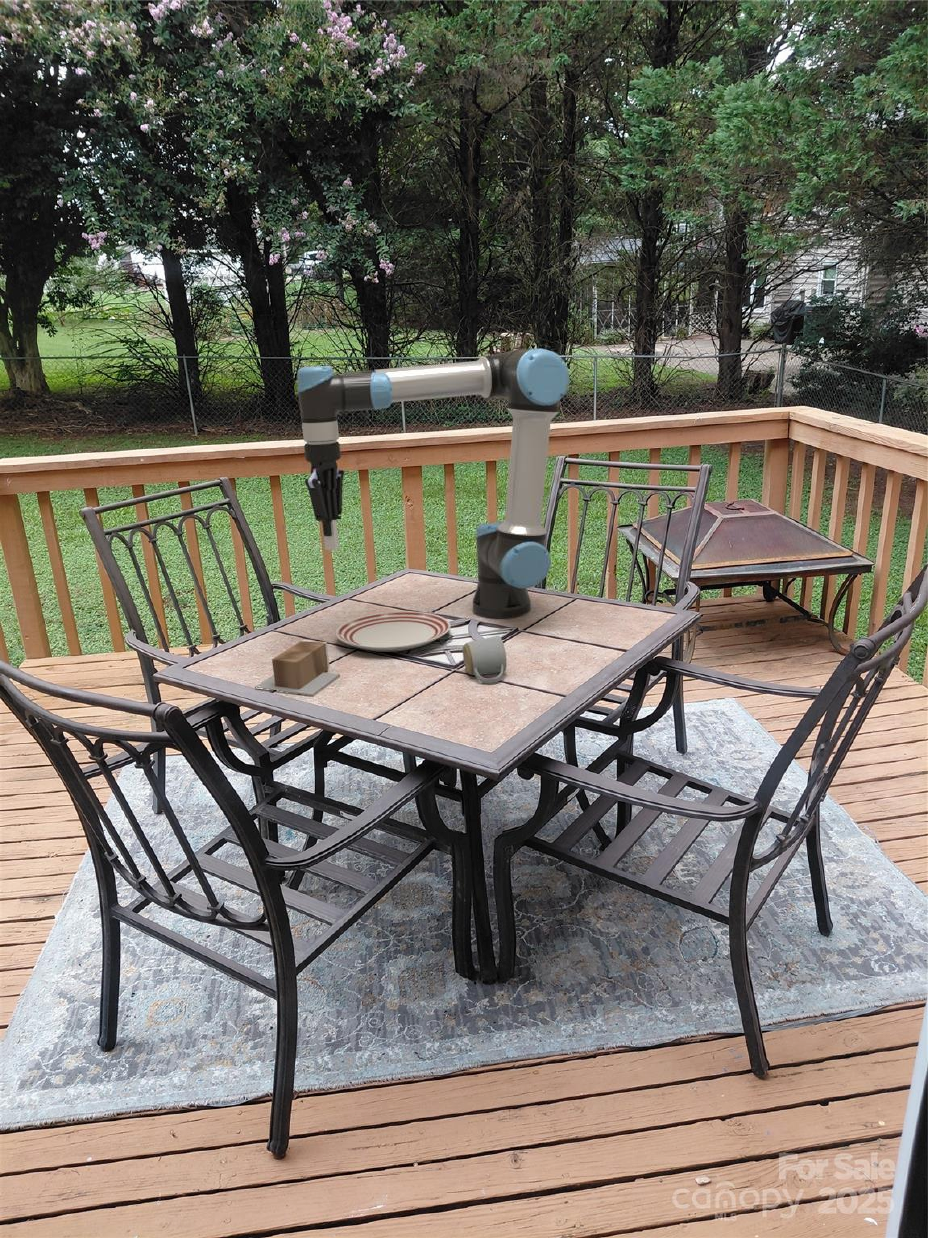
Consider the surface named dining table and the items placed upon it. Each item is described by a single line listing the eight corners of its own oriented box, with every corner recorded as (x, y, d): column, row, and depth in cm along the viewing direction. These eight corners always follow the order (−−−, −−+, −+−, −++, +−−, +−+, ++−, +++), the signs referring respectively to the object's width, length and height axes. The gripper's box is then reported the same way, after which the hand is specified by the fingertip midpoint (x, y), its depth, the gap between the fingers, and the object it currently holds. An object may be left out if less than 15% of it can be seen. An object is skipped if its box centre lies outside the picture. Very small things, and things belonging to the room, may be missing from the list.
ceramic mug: (462, 668, 181) (460, 635, 178) (498, 663, 182) (497, 630, 180) (474, 688, 171) (472, 653, 168) (512, 682, 173) (511, 648, 170)
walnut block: (326, 642, 181) (296, 662, 171) (329, 667, 183) (300, 689, 173) (302, 639, 183) (271, 659, 173) (305, 665, 185) (275, 686, 175)
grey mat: (339, 676, 180) (339, 674, 179) (313, 696, 170) (312, 694, 170) (284, 669, 185) (284, 667, 184) (255, 689, 175) (254, 687, 175)
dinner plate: (348, 622, 215) (347, 609, 214) (454, 619, 213) (454, 607, 212) (325, 662, 189) (324, 648, 188) (446, 659, 187) (445, 645, 186)
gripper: (322, 437, 186) (332, 541, 193) (289, 445, 174) (302, 555, 182) (351, 437, 183) (361, 543, 190) (321, 445, 171) (332, 557, 179)
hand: (332, 549), depth 186 cm, fingers closed
